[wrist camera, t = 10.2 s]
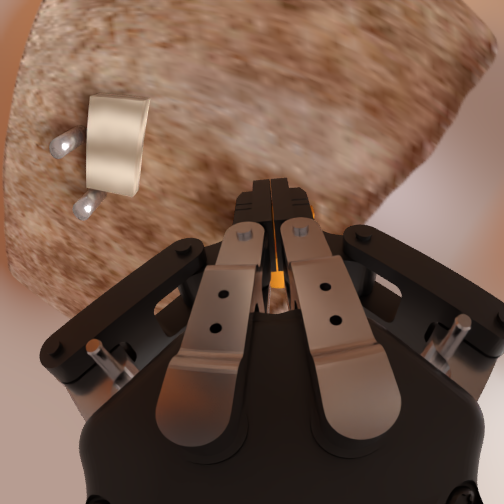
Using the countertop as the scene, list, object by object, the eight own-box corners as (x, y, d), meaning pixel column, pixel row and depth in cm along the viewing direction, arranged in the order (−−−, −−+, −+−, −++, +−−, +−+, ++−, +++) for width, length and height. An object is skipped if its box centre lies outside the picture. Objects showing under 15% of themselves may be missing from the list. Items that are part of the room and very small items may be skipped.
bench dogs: (70, 129, 33) (46, 142, 28) (84, 123, 33) (61, 135, 28) (94, 201, 41) (77, 221, 36) (109, 198, 41) (92, 218, 36)
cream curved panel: (100, 92, 30) (90, 96, 28) (151, 97, 32) (143, 101, 29) (95, 179, 39) (86, 187, 37) (139, 187, 40) (132, 197, 38)
